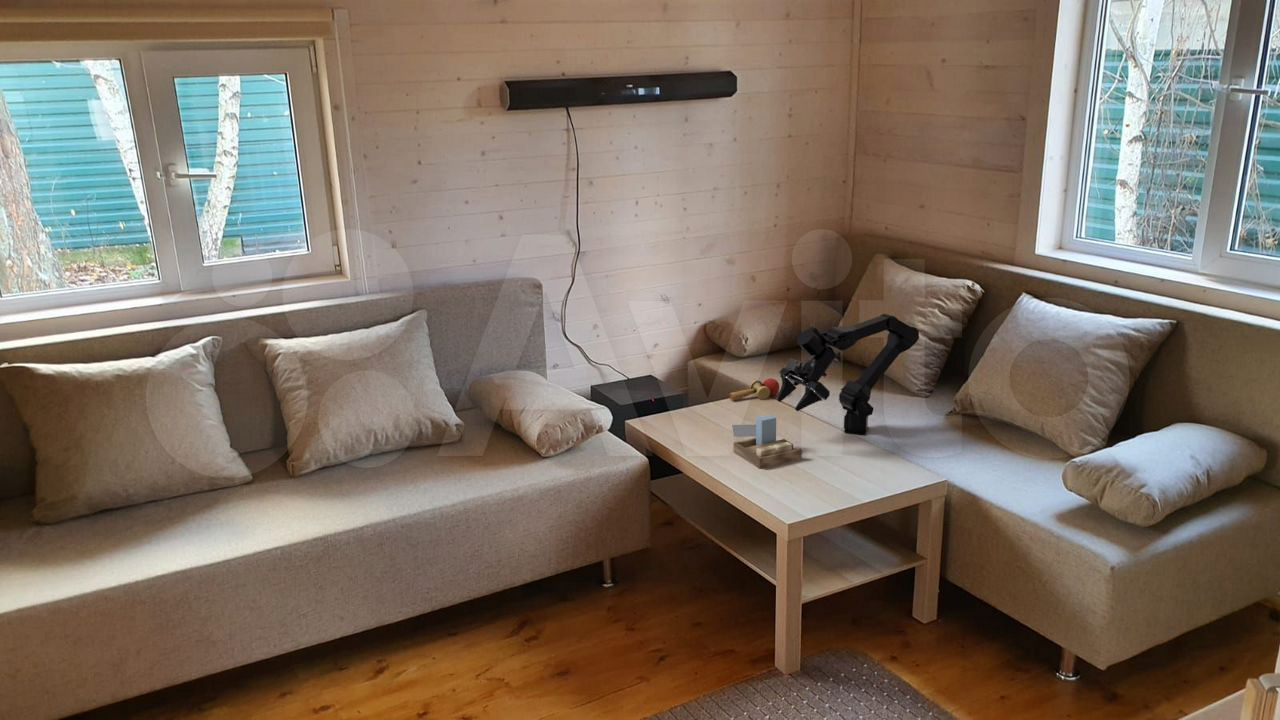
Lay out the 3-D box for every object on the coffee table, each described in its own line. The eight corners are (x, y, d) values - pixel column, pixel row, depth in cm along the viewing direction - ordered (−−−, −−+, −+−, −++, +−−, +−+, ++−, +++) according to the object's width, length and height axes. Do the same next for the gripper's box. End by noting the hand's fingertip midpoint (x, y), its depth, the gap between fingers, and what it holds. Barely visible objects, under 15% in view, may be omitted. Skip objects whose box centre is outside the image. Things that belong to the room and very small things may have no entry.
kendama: (738, 408, 324) (785, 394, 329) (734, 390, 322) (781, 376, 328) (728, 405, 331) (775, 391, 336) (725, 388, 330) (771, 374, 335)
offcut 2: (787, 456, 279) (787, 441, 278) (791, 458, 277) (791, 444, 276) (772, 459, 277) (772, 445, 275) (777, 462, 275) (777, 447, 274)
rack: (774, 444, 289) (774, 433, 288) (801, 460, 277) (801, 449, 276) (733, 454, 283) (733, 442, 282) (759, 470, 271) (759, 458, 270)
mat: (763, 426, 304) (763, 424, 304) (766, 438, 294) (766, 436, 294) (732, 426, 304) (732, 424, 304) (734, 438, 295) (734, 436, 294)
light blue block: (770, 446, 287) (770, 414, 284) (775, 449, 284) (776, 417, 281) (755, 449, 284) (756, 417, 281) (761, 452, 282) (761, 420, 279)
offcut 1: (770, 459, 277) (771, 445, 275) (775, 462, 275) (775, 447, 273) (756, 463, 274) (756, 448, 273) (760, 466, 273) (760, 451, 271)
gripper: (785, 341, 289) (753, 381, 288) (822, 356, 273) (789, 399, 271) (806, 362, 294) (775, 402, 293) (844, 378, 278) (811, 420, 277)
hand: (787, 405), depth 284 cm, fingers open, 9 cm apart
